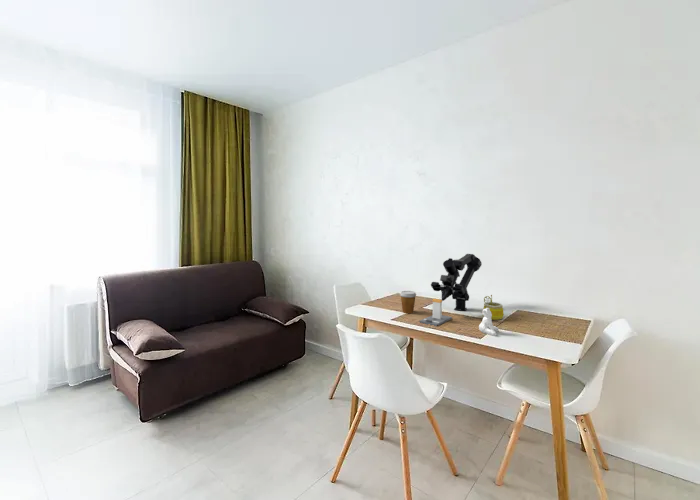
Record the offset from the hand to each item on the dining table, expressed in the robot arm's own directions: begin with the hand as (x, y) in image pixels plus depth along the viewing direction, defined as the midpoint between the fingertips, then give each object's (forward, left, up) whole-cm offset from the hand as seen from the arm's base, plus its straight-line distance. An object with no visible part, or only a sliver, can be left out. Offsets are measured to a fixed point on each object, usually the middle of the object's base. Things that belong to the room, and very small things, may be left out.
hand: (442, 300), depth 189 cm
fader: (+6, -2, -9) cm, 11 cm away
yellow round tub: (-13, +25, -10) cm, 30 cm away
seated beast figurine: (+15, +25, -10) cm, 31 cm away
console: (+7, -2, -10) cm, 12 cm away
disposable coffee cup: (-3, -21, -10) cm, 23 cm away
